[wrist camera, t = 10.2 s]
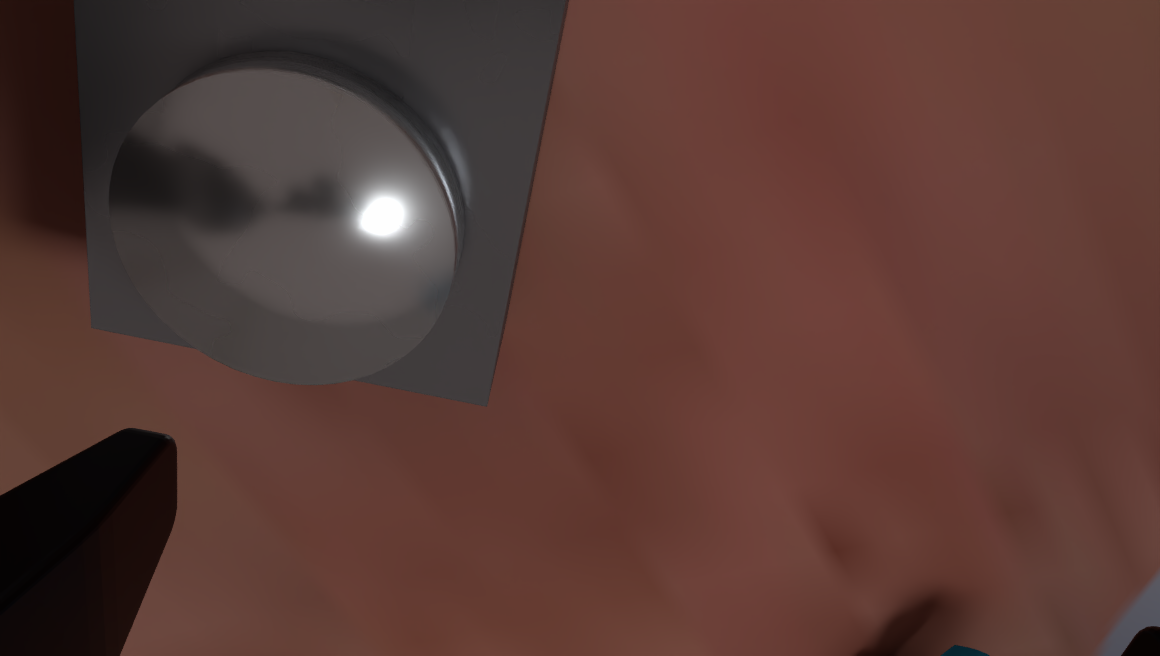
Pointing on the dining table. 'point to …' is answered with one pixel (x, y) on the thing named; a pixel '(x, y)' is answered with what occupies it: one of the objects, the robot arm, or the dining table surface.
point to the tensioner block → (314, 180)
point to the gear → (963, 652)
